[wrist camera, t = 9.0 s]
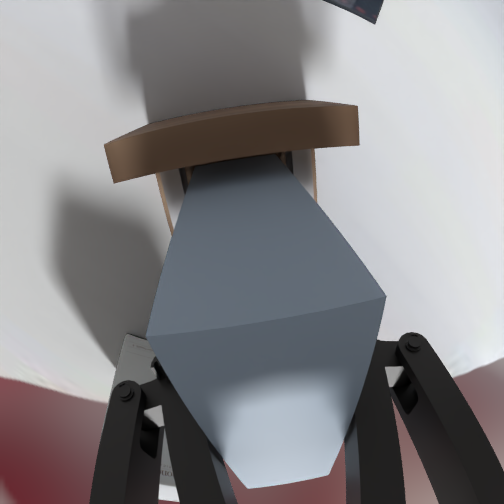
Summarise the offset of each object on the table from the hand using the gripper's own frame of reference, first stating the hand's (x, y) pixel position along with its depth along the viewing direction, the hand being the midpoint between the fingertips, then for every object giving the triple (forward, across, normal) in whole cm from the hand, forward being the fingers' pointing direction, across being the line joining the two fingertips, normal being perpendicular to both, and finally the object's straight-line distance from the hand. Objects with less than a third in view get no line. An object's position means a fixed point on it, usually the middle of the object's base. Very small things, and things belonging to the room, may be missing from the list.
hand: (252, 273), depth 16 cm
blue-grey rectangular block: (+1, 0, 0) cm, 1 cm away
